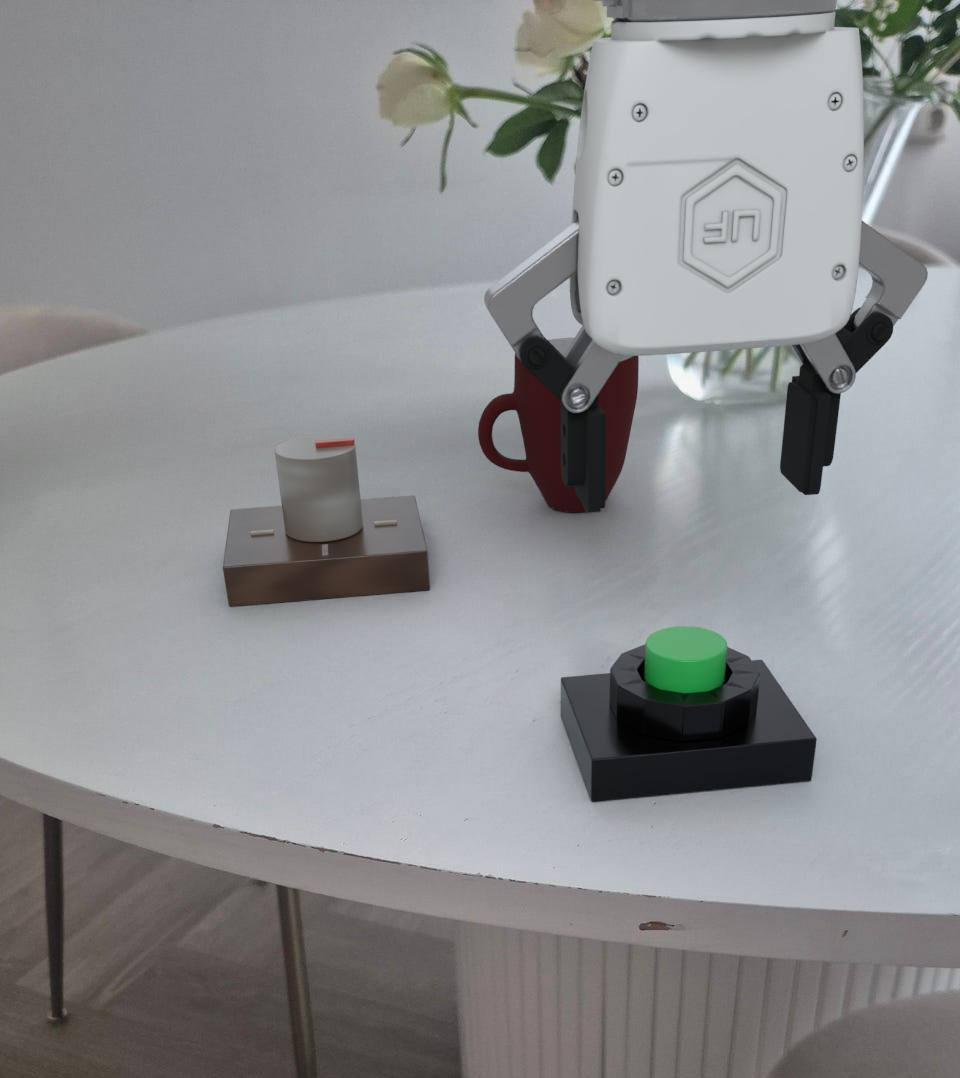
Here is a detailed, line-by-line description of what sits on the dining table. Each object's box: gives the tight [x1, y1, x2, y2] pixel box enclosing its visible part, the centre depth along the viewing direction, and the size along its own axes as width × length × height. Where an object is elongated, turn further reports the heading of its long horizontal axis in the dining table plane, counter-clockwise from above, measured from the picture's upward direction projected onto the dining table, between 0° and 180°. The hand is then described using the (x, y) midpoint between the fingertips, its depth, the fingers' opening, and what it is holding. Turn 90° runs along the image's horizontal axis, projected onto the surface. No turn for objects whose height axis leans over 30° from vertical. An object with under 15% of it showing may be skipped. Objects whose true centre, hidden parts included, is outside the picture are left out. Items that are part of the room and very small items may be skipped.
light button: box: [644, 625, 728, 693], centre depth 57 cm, size 4×4×2 cm
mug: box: [477, 337, 640, 513], centre depth 84 cm, size 10×8×10 cm
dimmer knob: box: [274, 434, 363, 542], centre depth 76 cm, size 5×5×5 cm
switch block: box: [560, 644, 818, 803], centre depth 58 cm, size 10×8×4 cm
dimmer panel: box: [222, 495, 431, 607], centre depth 78 cm, size 12×10×3 cm
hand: (694, 491), depth 52 cm, fingers open, 8 cm apart
